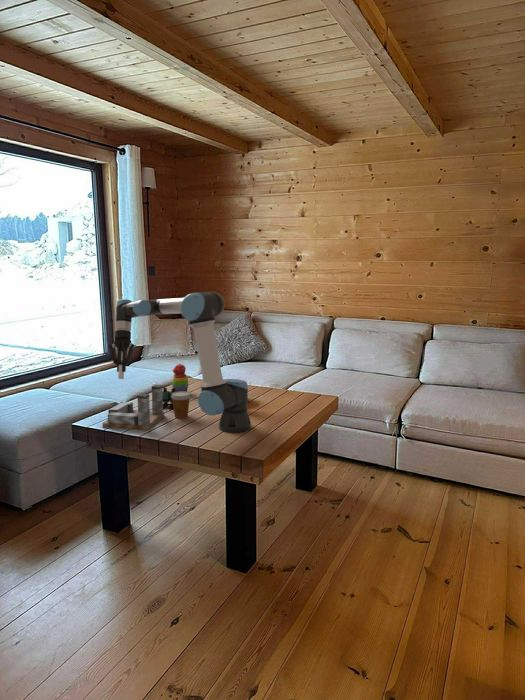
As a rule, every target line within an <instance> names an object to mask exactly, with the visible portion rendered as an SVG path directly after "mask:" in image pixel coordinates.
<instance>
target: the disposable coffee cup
mask: <svg viewBox="0 0 525 700" xmlns="http://www.w3.org/2000/svg"><path fill="white" fill-rule="evenodd" d="M171 397H172V400H173V407H174V409H173V411H174V417H175V418H176V419H181V420H182V419H186V418H188V416H189V410H190V409H189V406H190V398H191V394H190V392H189V391H188V392H185V391H179V392H174V393H172V396H171Z"/></svg>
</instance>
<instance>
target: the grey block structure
mask: <svg viewBox="0 0 525 700" xmlns="http://www.w3.org/2000/svg"><path fill="white" fill-rule="evenodd" d="M163 387H164V386H163V384H153V385H152V386H151V410H150V393H140V394H138V395H137V409H134V403H133V402H130V403H129V404H128V412H127V413H117V412H111V413H109V412H108V414H107V419H106V420H105V421H103V422H101V424H102V428H107V427H111V428H110V429H120V428H124V430H134V429H137V430H136V431H149V430H150V429H151V428H152V427H153V426H155V425H156V424H157V423H158V422H157V421H161V419H162V418H164V417H165V411H164V409H163V404H164V403H163V391H164V390H163ZM120 403H124V402H123V401H120V402H118V404H120ZM156 422H157V423H156ZM150 427H151V428H150ZM149 428H150V429H149ZM148 429H149V430H148Z"/></svg>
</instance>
